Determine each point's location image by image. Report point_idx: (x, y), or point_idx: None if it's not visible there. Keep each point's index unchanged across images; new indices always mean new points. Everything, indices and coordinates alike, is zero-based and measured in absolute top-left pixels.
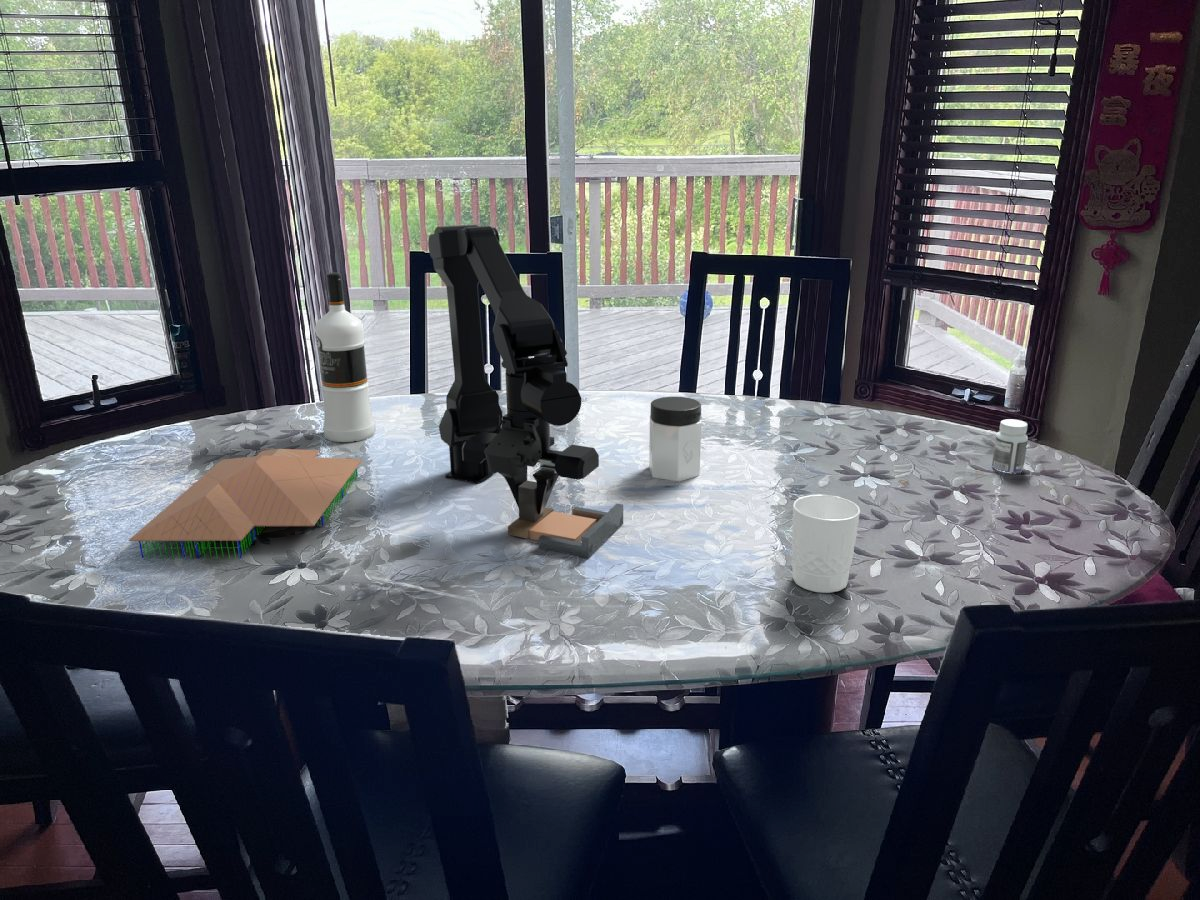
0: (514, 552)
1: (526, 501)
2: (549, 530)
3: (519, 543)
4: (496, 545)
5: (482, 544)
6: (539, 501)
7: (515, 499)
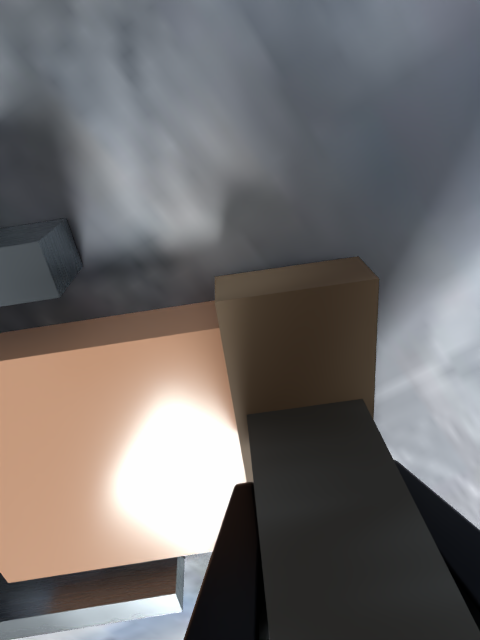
0: (161, 51)
1: (344, 539)
2: (100, 388)
3: (227, 207)
4: (356, 84)
5: (466, 35)
6: (227, 584)
7: (465, 524)
